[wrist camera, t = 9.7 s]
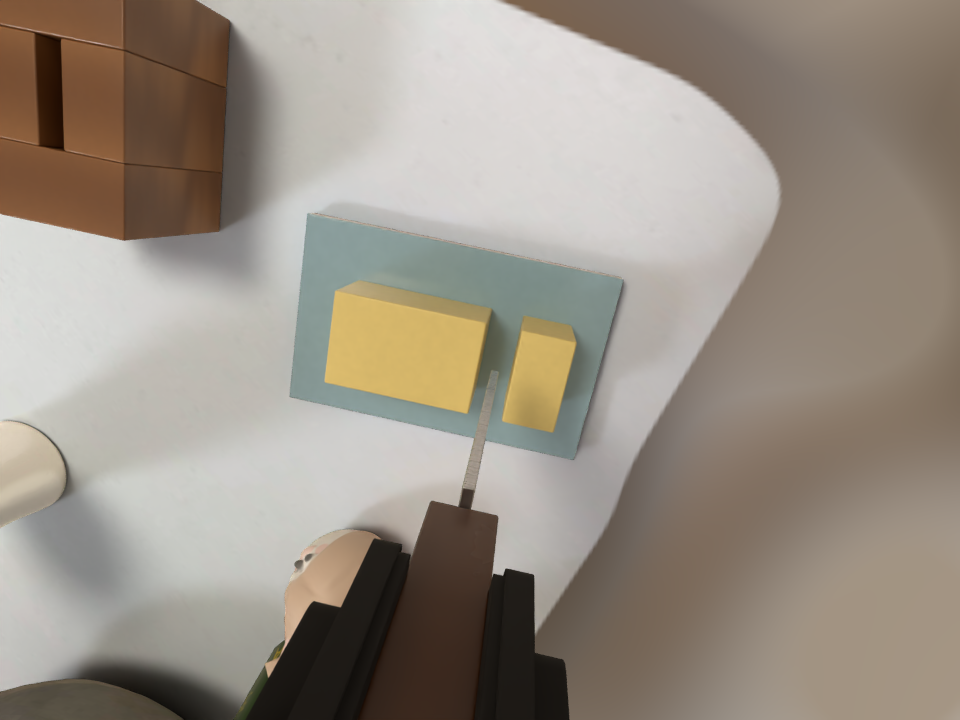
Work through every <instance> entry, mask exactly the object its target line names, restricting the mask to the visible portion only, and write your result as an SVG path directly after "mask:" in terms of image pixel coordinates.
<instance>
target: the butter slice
mask: <svg viewBox="0 0 960 720" xmlns="http://www.w3.org/2000/svg"><path fill="white" fill-rule="evenodd" d="M576 345H577V342H576V339H575V336H574V333H573V329H572V326H571V325H567V324H562V323H557V322H553V321H548V320H543V319H539V318H534V317H529V316H523V319H522V324H521V328H520V332H519V337H518V341H517V346H516V350H515V355H514V359H513V363H512V368H511V372H510V377H509V381H508V386H507V390H506V394H505V401H504V408H503V415H502V421H503V422H506V423H511V424H515V425H520V426H524V427H529V428H533V429H538V430H542V431H547V432H551V433H553V432H554V430H555V426H556V422H557V418H558V414H559V410H560V407H561V403H562V399H563V395H564V391H565V387H566V384H567V380H568V376H569V372H570V368H571V364H572V360H573V357H574V353H575V349H576Z"/></svg>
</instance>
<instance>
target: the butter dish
mask: <svg viewBox="0 0 960 720" xmlns="http://www.w3.org/2000/svg"><path fill="white" fill-rule="evenodd" d="M358 280H361V281H366V282H370V283H375V284H380V285H384V286H389V287H394V288H398V289H403V290H408V291H412V292H417V293H422V294H426V295H431V296H436V297H440V298H445V299H450V300H454V301H459V302H464V303H469V304H473V305H478V306H483V307H487V308H491V309H492V313H491V318H490V322H489V327H488V332H487V337H486V342H485V346H484V351H483V356H482V361H481V366H480V371H479V375H478V380H477V385H476V390H475V393H474V396H473V399H472V403H471V406H470V409H469V412H468V414H465V413H461V412H456V411H452V410H447V409H443V408H438V407H434V406H429V405H424V404H420V403H415V402H411V401H406V400H402V399H397V398H393V397H388V396H384V395H379V394H375V393H370V392H366V391H361V390H357V389H352V388H347V387H343V386H338V385H334V384H329V383H325V381H324V380H325V372H326V364H327V355H328V347H329V338H330V330H331V321H332V313H333V304H334V296H335V291H336V290H338V289H341V288H343V287H345V286H347V285H349V284H352V283H354V282H356V281H358ZM623 281H624V280H623V279H622V278H621V277H618V276H614V275H609V274H604V273H599V272H595V271H590V270H585V269H580V268H576V267H571V266H566V265H561V264H557V263H552V262H547V261H542V260H538V259H533V258H528V257H523V256H518V255H514V254H509V253H504V252H499V251H495V250H490V249H485V248H480V247H476V246H471V245H466V244H461V243H457V242H452V241H447V240H442V239H438V238H433V237H428V236H423V235H418V234H414V233H409V232H404V231H399V230H395V229H390V228H385V227H380V226H376V225H371V224H366V223H361V222H357V221H352V220H347V219H342V218H338V217H333V216H328V215H323V214H318V213H308V214H307V224H306V234H305V244H304V255H303V265H302V275H301V285H300V295H299V305H298V315H297V326H296V336H295V346H294V356H293V366H292V376H291V387H290V397H292V398H297V399H301V400H306V401H310V402H315V403H319V404H324V405H328V406H333V407H337V408H342V409H346V410H351V411H355V412H360V413H364V414H369V415H373V416H378V417H382V418H387V419H391V420H396V421H400V422H405V423H409V424H414V425H418V426H423V427H427V428H432V429H436V430H441V431H445V432H450V433H454V434H459V435H463V436H468V437H472V438H475V434H476V430H477V426H478V422H479V418H480V414H481V410H482V406H483V402H484V398H485V394H486V390H487V386H488V382H489V378H490V374H491V371H492V370H493V371H497V372H499V374H498V379H497V384H496V389H495V394H494V399H493V404H492V409H491V414H490V419H489V424H488V429H487V434H486V439H485V440H486V441H490V442H495V443H499V444H504V445H508V446H513V447H517V448H522V449H526V450H531V451H535V452H540V453H544V454H549V455H553V456H558V457H562V458H567V459H571V460H574V458H575V454H576V450H577V447H578V443H579V440H580V436H581V432H582V429H583V425H584V422H585V418H586V414H587V411H588V407H589V403H590V400H591V396H592V393H593V389H594V385H595V382H596V378H597V375H598V371H599V367H600V364H601V360H602V356H603V353H604V349H605V346H606V342H607V338H608V335H609V331H610V328H611V324H612V320H613V317H614V313H615V309H616V306H617V302H618V299H619V295H620V291H621V288H622V284H623ZM523 316H529V317H534V318H539V319H543V320H548V321H553V322H557V323H562V324H567V325H571V326H572V329H573V333H574V336H575V339H576V342H577V345H576V349H575V353H574V357H573V360H572V364H571V368H570V372H569V376H568V380H567V384H566V387H565V391H564V395H563V399H562V403H561V407H560V410H559V414H558V418H557V422H556V426H555V430H554V432H553V433H551V432H547V431H542V430H538V429H533V428H529V427H524V426H520V425H515V424H511V423H506V422H503V421H502V415H503V408H504V401H505V394H506V390H507V386H508V381H509V377H510V372H511V368H512V363H513V359H514V355H515V350H516V346H517V341H518V337H519V332H520V328H521V324H522V319H523Z"/></svg>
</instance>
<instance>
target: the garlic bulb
mask: <svg viewBox="0 0 960 720" xmlns="http://www.w3.org/2000/svg"><path fill="white" fill-rule="evenodd" d="M374 538H376V539H381V538H379V537H378V536H377V535H375V534H373V533H371V532H367V531H358V530H351V529H344V530H337V531H333V532H330V533H328V534H326V535H324V536H322V537H320V538H318V539H317V540H315V541H314V542H313V543H312V544H311V545H310V546H309V547H307V548H306V549H304V550H303V552H302V553H301V556H300V559H299V560H298V561H296V562H295V567H296V568H295V571H294V573H293V574H292V575H291V578H290V582H289V585H288V587H287V589H286V592H285V617H284V622H285V644H284V647H283V650H282V652H281V655H282V653H283V651H284V649H285V647H286V646H287V644H288V642H289V640H290V638H291V637H292V635H293V633H294V631H295V629H296V628H297V626H298V624H299V622H300V620H301V619H302V617H303V615H304V613H305V611H306V610H307V608H308V607H309V605H310V604H311V603H312V602H313V601H316V602H320V603H325V604H329V605H333V606H337V607H341V606H342V604H343V601H344V599H345V597H346V595H347V593H348V591H349V589H350V587H351V585H352V583H353V580H354V578H355V576H356V574H357V572H358V570H359V568H360V566H361V564H362V562H363V559H364V557H365V555H366V553H367V551H368V549H369V547H370V545H371V543H372V541H373V539H374ZM381 540H382V539H381ZM281 655H280V656H281ZM279 658H280V657H279ZM279 658H277V659H274V660H272V661H270V662H267V663H265V666H266V670H267V674H268V678H269V676H270V674H271V672H272V671H273V669H274V667H275V665H276V663H277V662H278V660H279Z"/></svg>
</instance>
